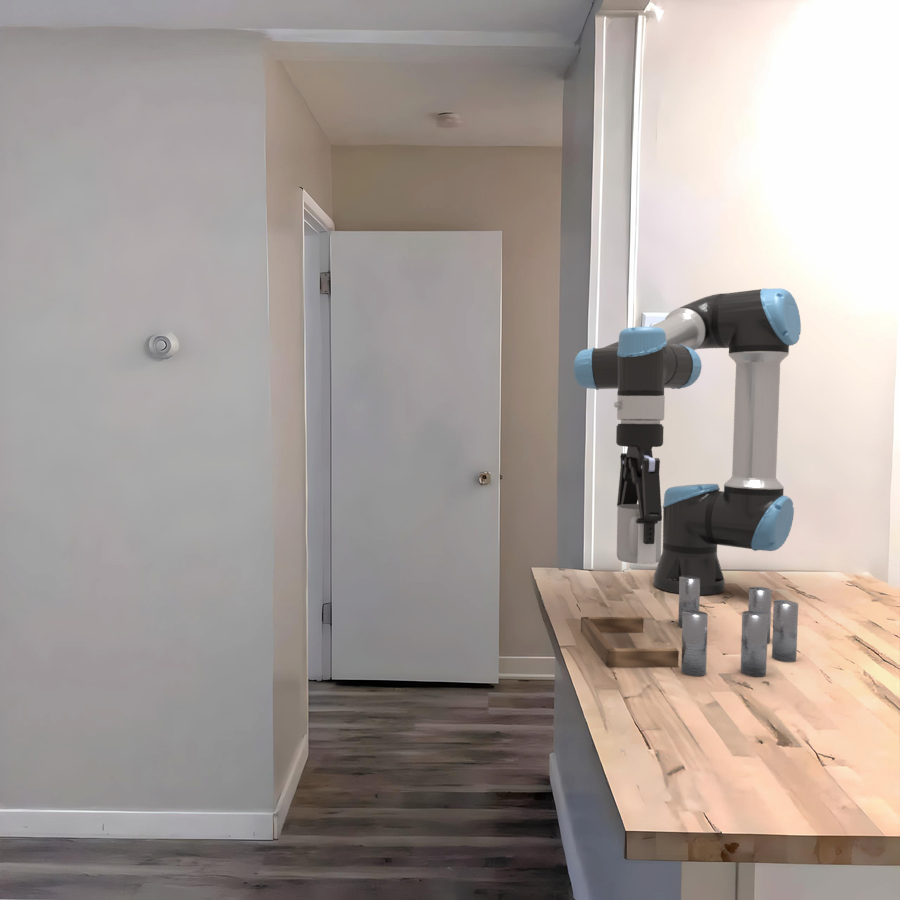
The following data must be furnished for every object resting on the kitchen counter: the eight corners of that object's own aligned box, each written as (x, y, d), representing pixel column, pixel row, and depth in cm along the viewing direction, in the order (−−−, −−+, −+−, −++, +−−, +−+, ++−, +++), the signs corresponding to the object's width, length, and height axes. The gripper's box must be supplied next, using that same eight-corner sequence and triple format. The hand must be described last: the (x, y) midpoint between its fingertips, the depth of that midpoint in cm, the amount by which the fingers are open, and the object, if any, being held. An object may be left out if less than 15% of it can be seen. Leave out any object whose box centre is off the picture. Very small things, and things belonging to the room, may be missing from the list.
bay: (641, 630, 136) (641, 616, 136) (678, 666, 117) (678, 650, 116) (580, 630, 135) (581, 616, 135) (608, 667, 116) (608, 651, 116)
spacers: (741, 623, 141) (743, 575, 140) (822, 676, 113) (824, 617, 112) (633, 623, 140) (634, 575, 139) (687, 677, 112) (688, 617, 111)
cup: (663, 557, 128) (664, 505, 128) (656, 568, 119) (657, 512, 119) (620, 554, 131) (621, 503, 131) (610, 565, 122) (611, 510, 121)
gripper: (600, 421, 135) (598, 545, 136) (637, 423, 113) (633, 571, 114) (642, 421, 135) (639, 545, 136) (686, 423, 113) (682, 571, 114)
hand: (637, 557), depth 125 cm, fingers closed on cup, 9 cm apart
